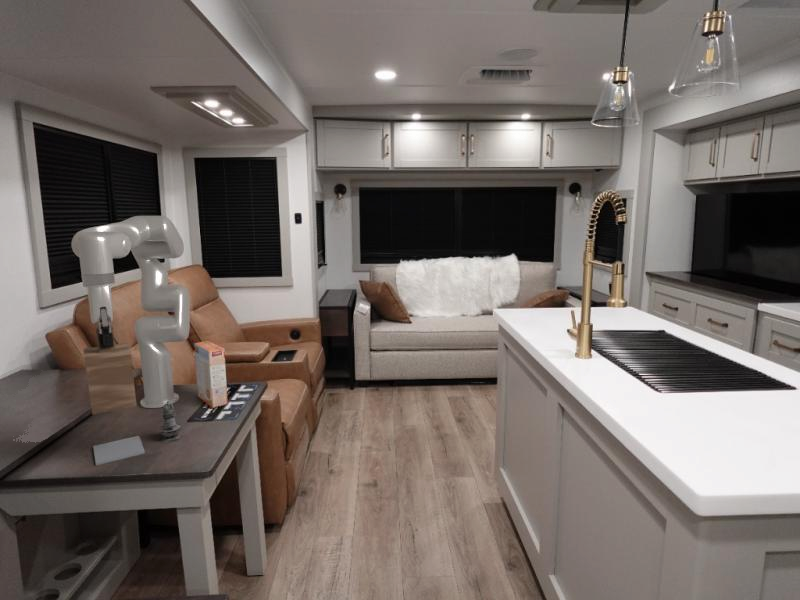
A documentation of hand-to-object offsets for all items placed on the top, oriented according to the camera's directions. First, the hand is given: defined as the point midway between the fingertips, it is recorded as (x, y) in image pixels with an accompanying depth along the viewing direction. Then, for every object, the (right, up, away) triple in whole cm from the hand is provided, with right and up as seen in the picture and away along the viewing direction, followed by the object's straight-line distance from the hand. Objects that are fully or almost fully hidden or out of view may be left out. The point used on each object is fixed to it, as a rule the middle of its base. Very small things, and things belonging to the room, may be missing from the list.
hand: (106, 344), depth 138 cm
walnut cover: (0, -17, +3) cm, 17 cm away
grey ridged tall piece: (+12, -30, +14) cm, 35 cm away
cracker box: (+14, -24, +42) cm, 51 cm away
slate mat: (0, -31, +6) cm, 32 cm away
